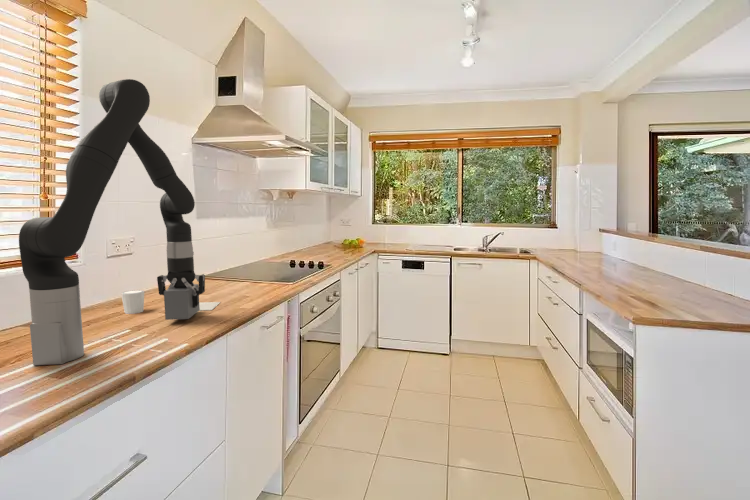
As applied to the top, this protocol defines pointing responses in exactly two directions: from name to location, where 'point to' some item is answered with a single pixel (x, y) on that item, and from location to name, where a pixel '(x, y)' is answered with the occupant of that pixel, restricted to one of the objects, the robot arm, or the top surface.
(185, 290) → the grey rectangular block
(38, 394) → the top surface
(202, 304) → the white square plate
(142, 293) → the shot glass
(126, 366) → the top surface
